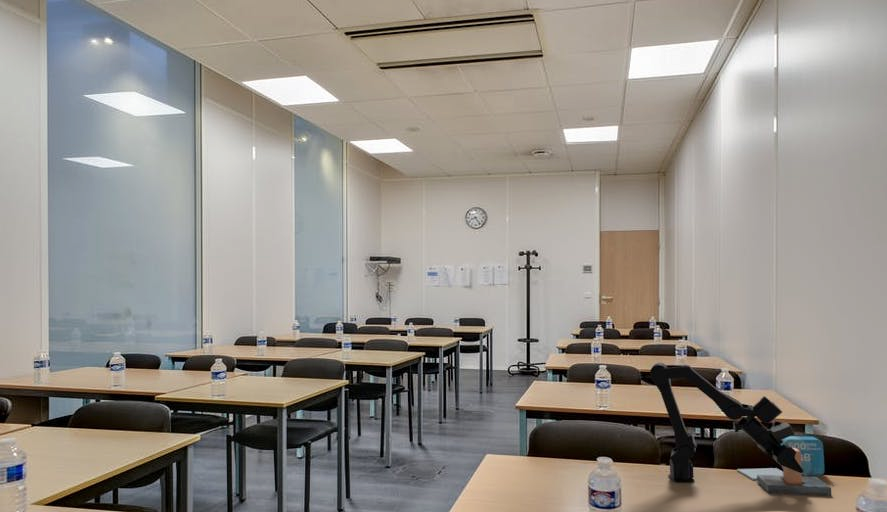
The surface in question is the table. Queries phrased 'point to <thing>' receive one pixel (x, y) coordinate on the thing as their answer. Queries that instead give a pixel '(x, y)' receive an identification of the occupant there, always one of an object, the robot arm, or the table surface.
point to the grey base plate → (793, 485)
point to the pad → (760, 472)
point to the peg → (791, 475)
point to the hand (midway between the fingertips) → (796, 467)
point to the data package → (808, 453)
